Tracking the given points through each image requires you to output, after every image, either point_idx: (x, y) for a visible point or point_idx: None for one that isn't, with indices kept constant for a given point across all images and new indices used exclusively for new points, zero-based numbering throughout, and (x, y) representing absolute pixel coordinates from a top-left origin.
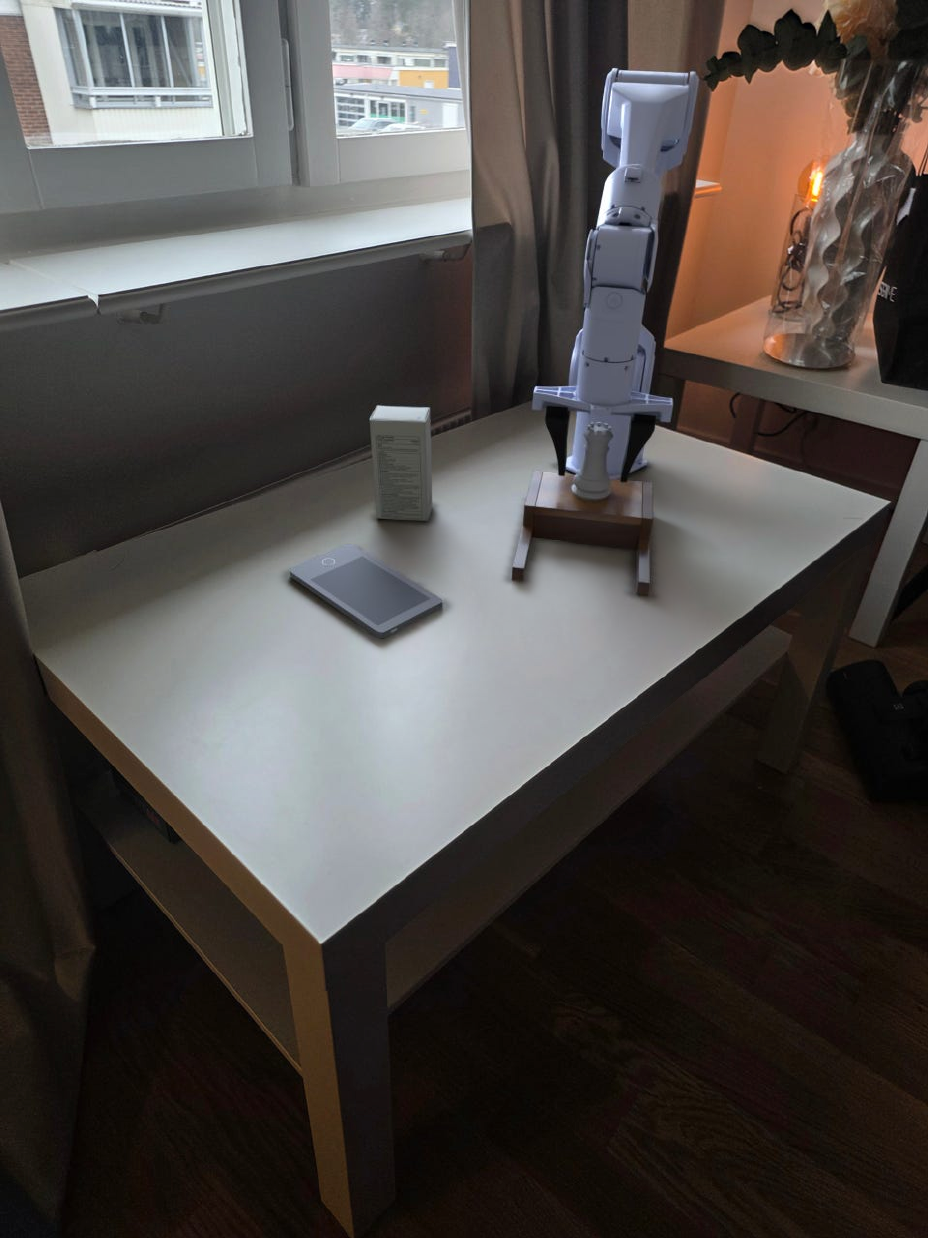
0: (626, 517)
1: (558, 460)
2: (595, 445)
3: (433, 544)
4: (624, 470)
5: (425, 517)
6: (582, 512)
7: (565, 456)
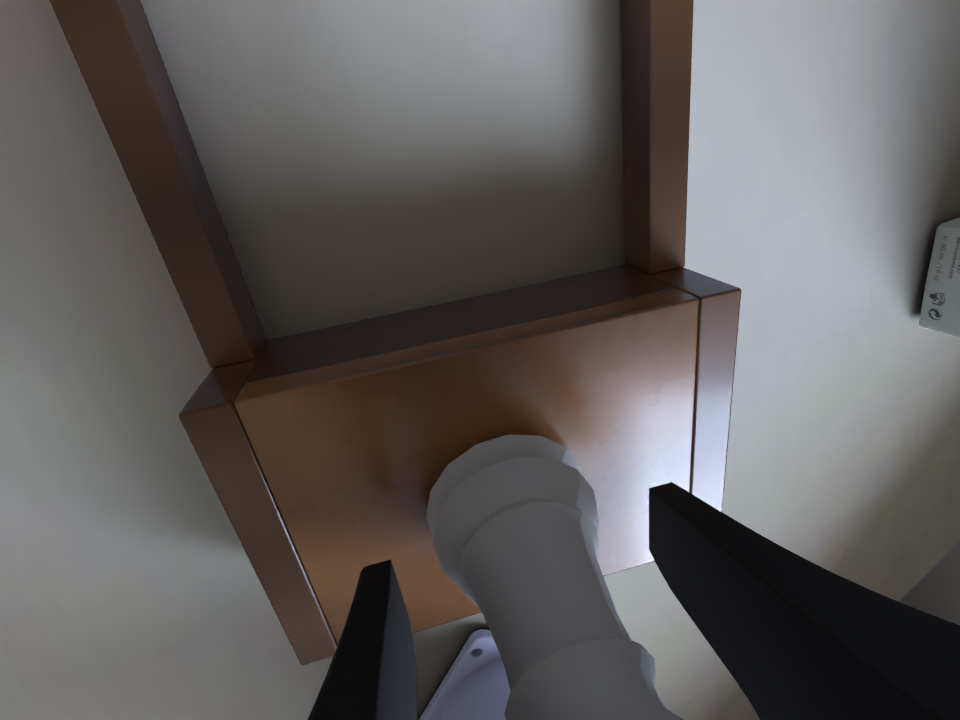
0: (306, 382)
1: (739, 523)
2: (606, 696)
3: (923, 88)
4: (376, 611)
5: (955, 224)
6: (503, 339)
7: (714, 566)
